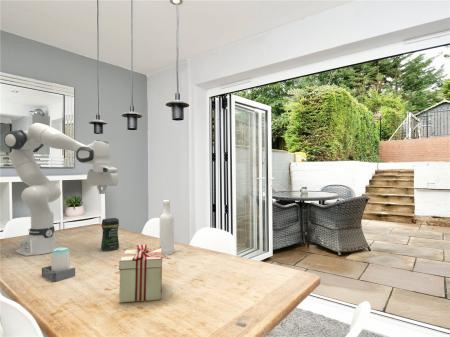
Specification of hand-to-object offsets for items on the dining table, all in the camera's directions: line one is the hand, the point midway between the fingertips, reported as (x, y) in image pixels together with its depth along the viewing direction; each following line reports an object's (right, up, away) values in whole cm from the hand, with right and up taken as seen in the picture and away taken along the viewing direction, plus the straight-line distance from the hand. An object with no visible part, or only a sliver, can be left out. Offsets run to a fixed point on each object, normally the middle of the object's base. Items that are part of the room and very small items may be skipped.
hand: (101, 193), depth 156 cm
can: (-5, -34, -31) cm, 47 cm away
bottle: (+36, -34, +2) cm, 50 cm away
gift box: (+38, -34, -49) cm, 71 cm away
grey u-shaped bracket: (-5, -34, -31) cm, 46 cm away
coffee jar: (0, -34, +11) cm, 36 cm away
